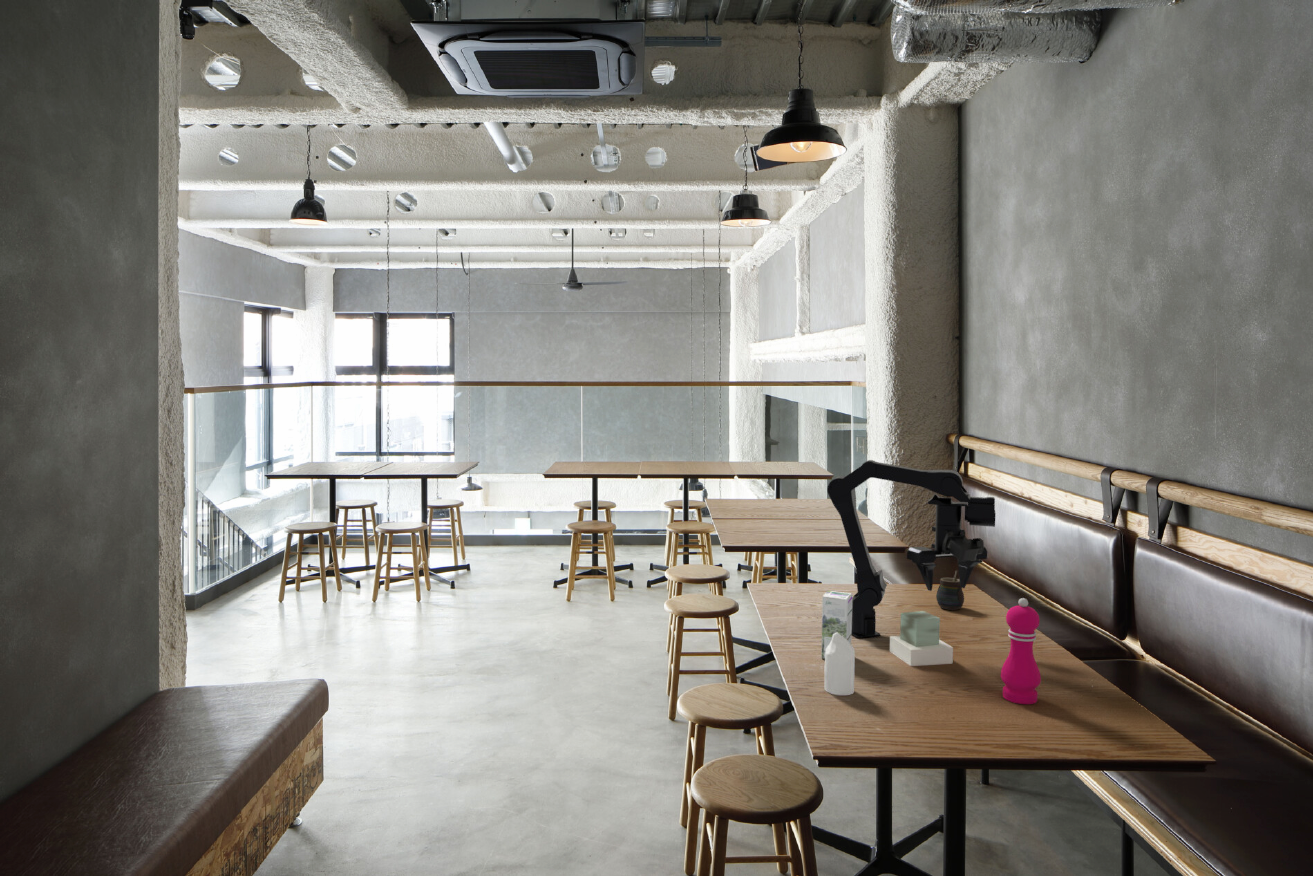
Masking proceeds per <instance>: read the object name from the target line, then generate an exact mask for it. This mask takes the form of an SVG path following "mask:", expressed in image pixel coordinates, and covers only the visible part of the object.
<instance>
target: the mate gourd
mask: <svg viewBox="0 0 1313 876" xmlns="http://www.w3.org/2000/svg"><path fill="white" fill-rule="evenodd" d="M958 573H959V570H955V572H954V575H953V577H942V578H939V586H938V589H937V591H936V597H935V598H936V601H937V605H938V606H939V607H940V608H941V609H943V610H947V611H956V610H959V609H961V608H962V607H963V605H964V602H965V594H964V591H963V588H961V586H960V581H959V578H957V575H958Z"/></svg>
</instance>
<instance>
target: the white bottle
mask: <svg viewBox="0 0 1313 876" xmlns="http://www.w3.org/2000/svg"><path fill="white" fill-rule="evenodd" d="M855 653H856V651H855V648H854V647H853V645H852V643H851V644H850V643H849V642H848V641H847V639H845V638H844V637H843V636H841V635H840V634H839V633H835V634H833V636H832V640H831V642H830V644H829V645H828V646H827V648H826V651H825V659H824V668H823V669H824V674H823V675H824V689H823V690H824V691H826V692H827V693H829V694H830V695H831V694H832V695H833V696H850V695H853V694H854V692H855V664H856V663H855V660H856V659H855V658H856V657H855Z"/></svg>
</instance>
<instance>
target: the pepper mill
mask: <svg viewBox="0 0 1313 876" xmlns="http://www.w3.org/2000/svg"><path fill="white" fill-rule="evenodd" d="M1005 620H1006V624H1007V626H1009V629H1008V635H1007V636H1008V637H1009V638H1010V648H1009V651H1008V655H1007V657H1006V658H1005V660H1004V662H1003V665H1002V668H1001V671H1000V679H1001V681H1002V682H1003V683H1004V686H1003V687H1002V697H1003V698H1004V699H1005V700H1006V701H1008V702H1011V703H1014V704H1018V705H1033V704H1036V703H1037V702H1038V697H1039V696H1038V695H1039V693H1038V691H1037V690H1036V689H1037V688H1038V687H1039V686H1040V685H1041V680H1042V678H1041V672H1040V668H1039V667H1038V664H1037V661H1036V659H1035V656H1034V642H1035V641H1036V640H1037V637H1036V635H1037V632H1036V630H1037V628H1039V626H1040V615H1039V613H1038V612H1037V611H1036V610H1035V608H1033V607H1030V606H1029V601H1028V599H1027V598H1024V597H1022V598H1019V599H1018V605H1013V606H1012V607H1010V608H1009V609H1008V610H1007V613H1006V614H1005Z"/></svg>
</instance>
